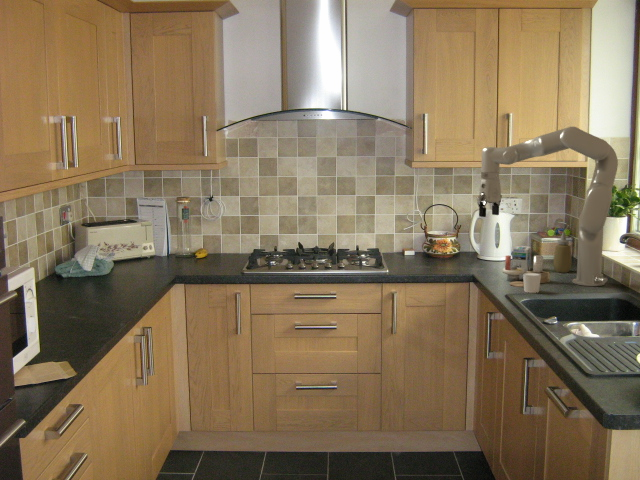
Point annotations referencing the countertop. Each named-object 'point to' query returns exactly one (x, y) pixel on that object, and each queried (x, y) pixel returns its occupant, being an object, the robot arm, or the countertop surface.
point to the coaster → (517, 284)
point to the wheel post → (513, 277)
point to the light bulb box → (522, 257)
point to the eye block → (543, 276)
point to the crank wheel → (512, 268)
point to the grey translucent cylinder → (537, 264)
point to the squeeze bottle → (562, 255)
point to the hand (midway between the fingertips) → (488, 215)
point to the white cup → (531, 282)
